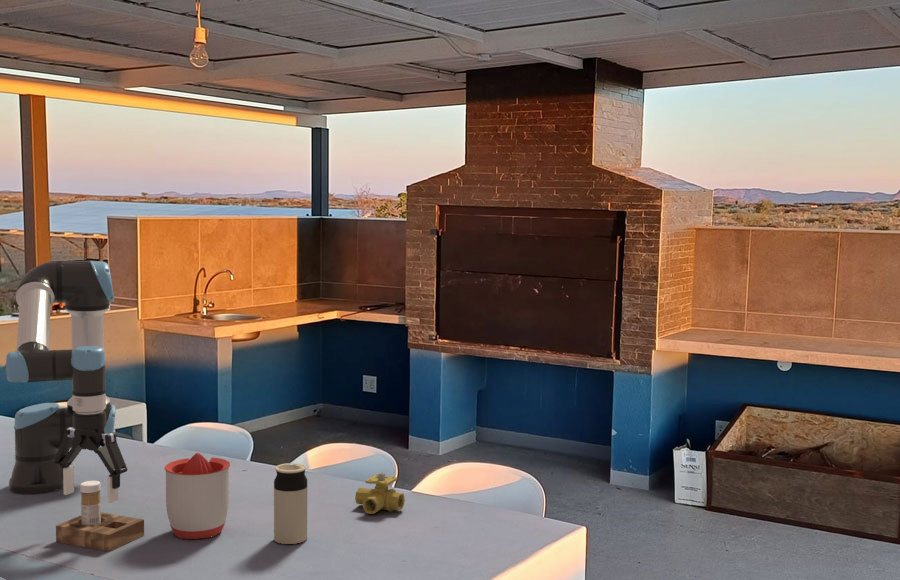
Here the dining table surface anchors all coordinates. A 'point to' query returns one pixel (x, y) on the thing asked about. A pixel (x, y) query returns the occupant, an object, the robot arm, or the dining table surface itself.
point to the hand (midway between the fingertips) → (90, 497)
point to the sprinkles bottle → (90, 502)
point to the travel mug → (290, 504)
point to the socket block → (100, 532)
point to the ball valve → (379, 495)
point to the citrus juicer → (197, 496)
